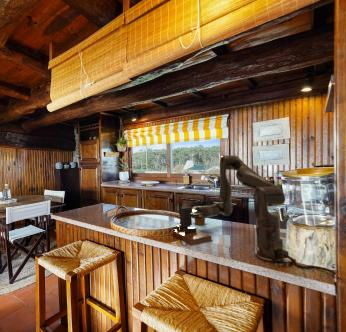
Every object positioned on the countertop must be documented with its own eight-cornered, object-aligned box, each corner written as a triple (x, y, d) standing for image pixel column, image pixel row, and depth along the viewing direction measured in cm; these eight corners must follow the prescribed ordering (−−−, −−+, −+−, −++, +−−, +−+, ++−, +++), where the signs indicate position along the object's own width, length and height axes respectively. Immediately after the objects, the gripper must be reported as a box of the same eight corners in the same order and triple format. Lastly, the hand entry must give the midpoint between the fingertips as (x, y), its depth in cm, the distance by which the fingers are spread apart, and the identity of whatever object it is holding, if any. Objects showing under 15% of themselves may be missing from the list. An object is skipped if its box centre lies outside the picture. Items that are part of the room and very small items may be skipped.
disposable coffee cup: (209, 225, 148) (208, 208, 147) (195, 226, 148) (194, 209, 147) (203, 221, 157) (203, 205, 157) (191, 222, 157) (190, 206, 157)
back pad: (191, 225, 130) (191, 207, 130) (183, 226, 128) (183, 208, 128) (188, 223, 133) (187, 206, 133) (180, 225, 131) (179, 207, 131)
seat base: (211, 240, 120) (211, 231, 120) (191, 245, 116) (191, 235, 115) (190, 231, 137) (190, 223, 137) (172, 235, 132) (172, 226, 132)
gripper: (196, 204, 142) (174, 207, 136) (212, 208, 129) (189, 211, 123) (196, 215, 142) (175, 218, 136) (212, 220, 129) (189, 224, 123)
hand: (181, 215), depth 129 cm, fingers closed on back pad, 3 cm apart
